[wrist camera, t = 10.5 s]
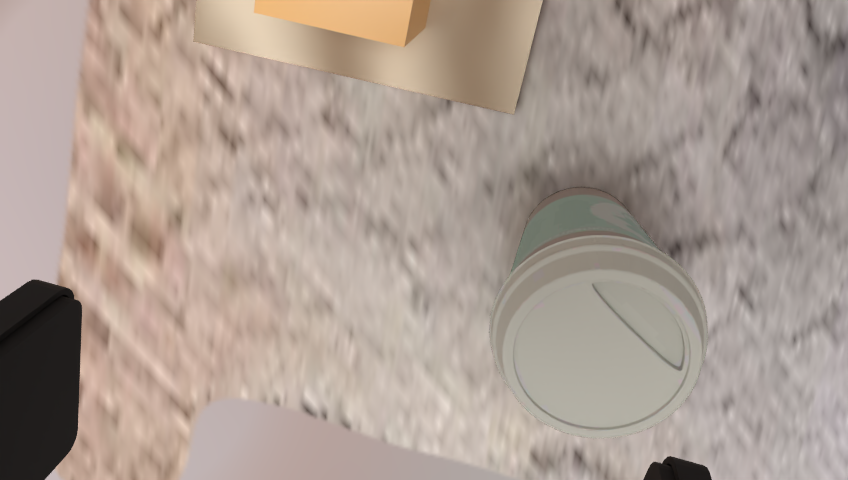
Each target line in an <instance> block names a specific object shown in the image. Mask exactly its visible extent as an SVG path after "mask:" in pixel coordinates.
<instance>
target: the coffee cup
mask: <svg viewBox="0 0 848 480" xmlns="http://www.w3.org/2000/svg"><path fill="white" fill-rule="evenodd" d="M489 333H490V343H491V348H492V352H493V355H494V359H495V363H496V366H497V368H498V370H499V373H500V375H501V377H502V378H503V380H504V382H505V383H506V385H507V386H508V388H509V389H510V390H511V391H512V392H513V394H514V396H515V397H516V399H517V400H518V401H519V402H520V404H521V405H522V406H523V407H524V408H525V409H526V410H527V411H528V412H529V413H530V414H531V415H533V416H534V417H535V418H537V419H538V420H540V421H541V422H543V423H544V424H546V425H548V426H550V427H552V428H554V429H556V430H559V431H561V432H564V433H567V434H571V435H575V436H580V437H586V438H616V437H622V436H627V435H631V434H635V433H638V432H641V431H643V430H646V429H648V428H651V427H652V426H654V425H656V424H658V423H660V422H661V421H663V420H664V419H666V418H667V417H669V416H670V415H671V414H672V413H674V412H675V411H676V410H677V409H678V408H679V407H680V406H681V405H682V404H683V402H684V401H685V400H686V399H687V397H688V396H689V395H690V393H691V392H692V390H693V388H694V386H695V384H696V382H697V379H698V377H699V373H700V370H701V366H702V364H703V361H704V358H705V354H706V350H707V343H708V328H707V316H706V310H705V306H704V303H703V300H702V297H701V295H700V293H699V290H698V289H697V287H696V285H695V283H694V282H693V280H692V279H691V277H690V276H689V275H688V274H687V272H686V271H685V270H684V269H683V268H682V267H681V266H680V265H679V264H678V263H677V262H675V261H674V260H673V259H672V258H670V257H669V256H668V255H666V254H665V253H663V252H661V251H660V250H659V249H658V248H657V247H656V245H655V244H654V243H653V242H652V240H651V239H650V238H649V237H648V235H647V234H646V233H645V231H644V230H643V229H642V228H641V226H640V225H639V224H638V223H637V221H636V220H635V219H634V218H633V216H632V215H631V214H630V213H629V211H628V210H627V209H626V208H625V207H624V205H623V204H622V203H621V202H619V201H618V200H617V199H616V198H614V197H613V196H611V195H610V194H608V193H606V192H603V191H600V190H597V189H593V188H585V187H578V188H570V189H565V190H562V191H559V192H557V193H554V194H552V195H551V196H549V197H547V198H546V199H545V200H543V201H542V202H541V203H540V204H539V205H538V206H537V207H536V208H535V209H534V211H533V212H532V214H531V215H530V217H529V219H528V221H527V224H526V227H525V230H524V233H523V236H522V239H521V242H520V245H519V248H518V251H517V254H516V258H515V261H514V264H513V267H512V270H511V273H510V276H509V277H508V278H507V280H506V281H505V283H504V284H503V286H502V287H501V289H500V291H499V293H498V295H497V297H496V299H495V302H494V305H493V308H492V312H491V317H490V327H489Z"/></svg>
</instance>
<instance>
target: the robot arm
mask: <svg viewBox="0 0 848 480" xmlns="http://www.w3.org/2000/svg"><path fill="white" fill-rule="evenodd" d="M81 323H82V305H81V303H80V302H79V301H78V300H75V299H74V294H73V292H72V290H70V289H69V288H65V287H62V286H58V285H55V284H51V283H47V282H44V281H40V280H31V281H29V282H27V283H26V284H24V285H23V286H21V287H20V288H18V289H17V290H16V291H14V292H12V293H11V294H10V295H8V296H7V297H5V298H4V299H2V300H1V301H0V480H45V478H46V477H47V476H48V475H49V474H50V473H51V472H52V471H53V470H54V469H55V467H56V466H57V465H58V464H59V463H60V462H61V461H62V460H63V459H64V457H65V456H66V455H67V454H68V453H69V451H70V450H71V448H72V446H73V444H74V442H75V440H76V436H77V431H78V407H79V379H80V351H81ZM644 480H712V479H711V476H710V472H709V470H708V468H707V467H705V466H703V465H700V464H696V463H693V462H689V461H685V460H682V459H678V458H675V457H671V456H670V457H667V458H666V459H665V460H664V461H663V463H662V464H661V463H658V462H653V463H652V464H651V465H650V467H649V469H648V471H647V473H646V475H645V477H644Z"/></svg>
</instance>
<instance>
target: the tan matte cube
mask: <svg viewBox="0 0 848 480" xmlns="http://www.w3.org/2000/svg"><path fill="white" fill-rule="evenodd" d="M430 2H431V0H255V6H254V13H257V14H262V15H266V16H270V17H275V18H279V19H283V20H288V21H292V22H296V23H301V24H305V25H309V26H314V27H318V28H322V29H327V30H331V31H335V32H340V33H344V34H348V35H353V36H357V37H361V38H366V39H370V40H374V41H379V42H383V43H387V44H392V45H396V46H401V47H405V46H406V45H407V44H408V43H410V42H411V41H412V40H413V39H414V38H415V37H416V36H417V35H418V34H419V33H420V32H421V31H422V30H424V29H425V27H426V22H427V17H428V12H429V7H430Z"/></svg>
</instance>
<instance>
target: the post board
mask: <svg viewBox="0 0 848 480" xmlns="http://www.w3.org/2000/svg"><path fill="white" fill-rule="evenodd" d="M542 2H543V0H431V2H430V7H429V12H428V17H427V22H426V27H425V29H424V30H422V31H421V32H420V33H419V34H418V35H417V36H416V37H415V38H414V39H413V40H412V41H411V42H410V43H408V44H407V45H406V46H405V47H401V46H396V45H392V44H387V43H383V42H379V41H374V40H370V39H366V38H361V37H357V36H353V35H348V34H344V33H340V32H335V31H331V30H327V29H322V28H318V27H314V26H309V25H305V24H301V23H296V22H292V21H288V20H283V19H279V18H275V17H270V16H266V15H262V14H257V13H254V6H255V0H196V12H195V26H194V40H193V42H197V43H202V44H206V45H211V46H215V47H219V48H224V49H228V50H233V51H237V52H241V53H246V54H250V55H255V56H259V57H263V58H268V59H272V60H276V61H281V62H285V63H290V64H294V65H298V66H303V67H307V68H312V69H316V70H320V71H325V72H329V73H334V74H338V75H342V76H347V77H351V78H355V79H360V80H364V81H369V82H373V83H377V84H382V85H386V86H391V87H395V88H399V89H404V90H408V91H413V92H417V93H421V94H426V95H430V96H434V97H439V98H443V99H448V100H452V101H456V102H461V103H465V104H470V105H474V106H478V107H483V108H487V109H492V110H496V111H500V112H505V113H509V114H514V112H515V108H516V104H517V100H518V97H519V93H520V89H521V85H522V81H523V77H524V73H525V69H526V65H527V61H528V57H529V53H530V49H531V45H532V41H533V37H534V33H535V29H536V26H537V22H538V18H539V14H540V10H541V6H542Z"/></svg>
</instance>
